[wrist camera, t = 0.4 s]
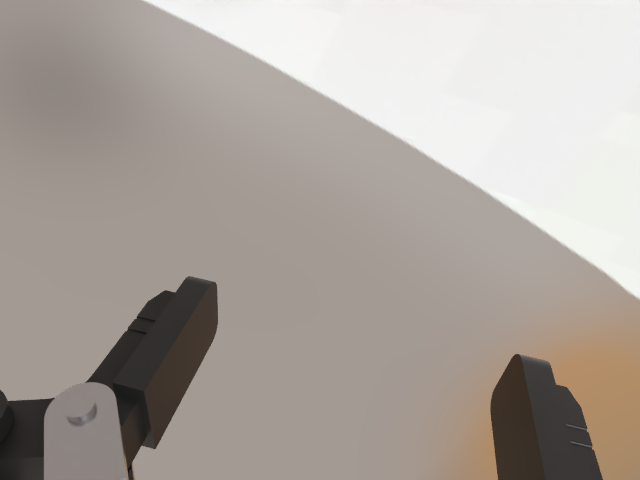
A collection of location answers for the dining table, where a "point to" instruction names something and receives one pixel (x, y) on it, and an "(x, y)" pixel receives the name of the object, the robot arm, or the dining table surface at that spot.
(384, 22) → the dining table surface
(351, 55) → the dining table surface
